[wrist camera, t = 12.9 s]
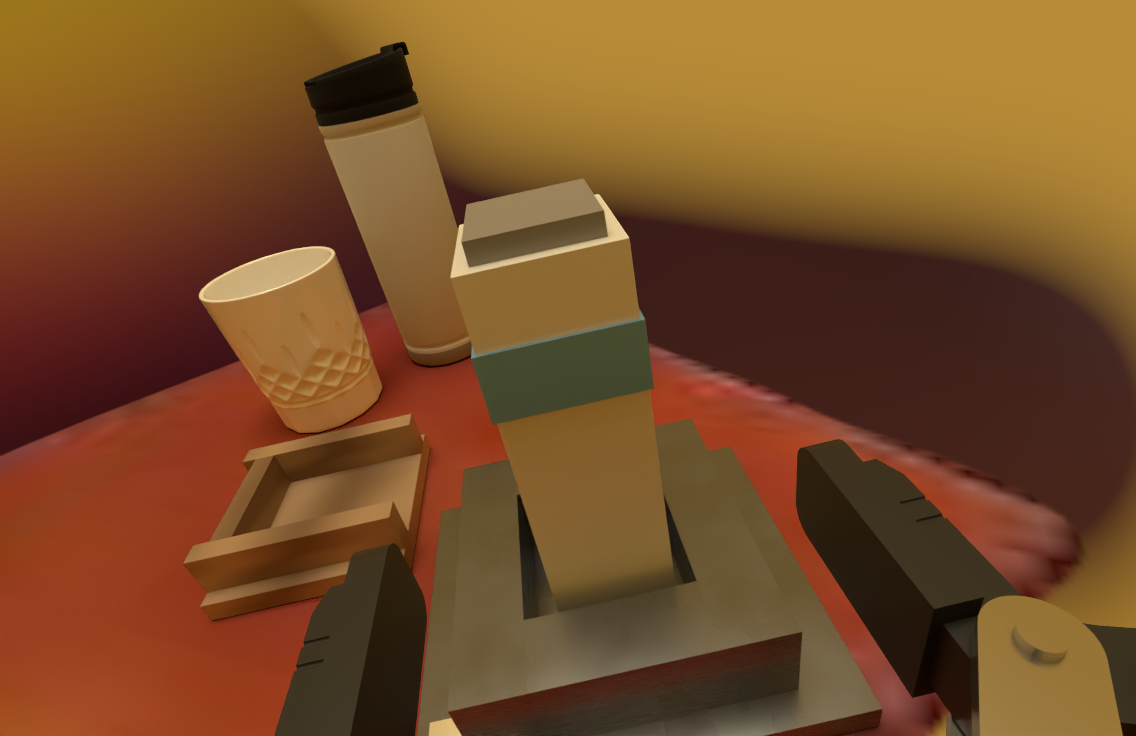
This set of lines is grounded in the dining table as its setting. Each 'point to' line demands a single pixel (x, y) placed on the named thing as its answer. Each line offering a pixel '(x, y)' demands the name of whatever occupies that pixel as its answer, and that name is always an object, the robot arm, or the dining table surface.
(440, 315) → the travel mug
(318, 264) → the white cup
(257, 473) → the wooden square tray
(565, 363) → the plug
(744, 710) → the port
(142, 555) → the dining table surface
